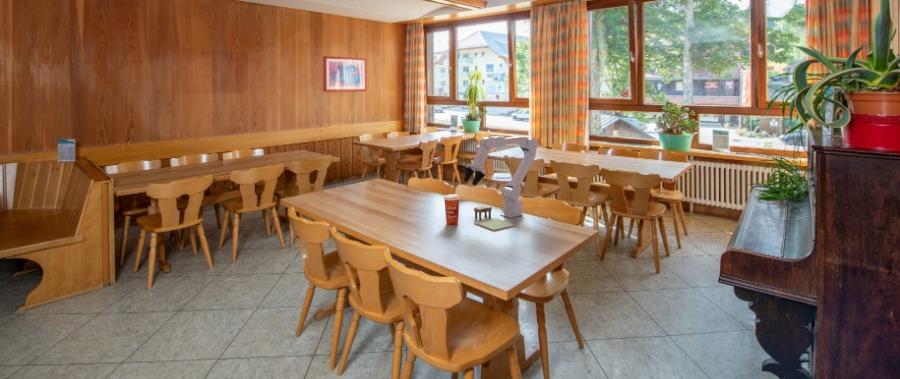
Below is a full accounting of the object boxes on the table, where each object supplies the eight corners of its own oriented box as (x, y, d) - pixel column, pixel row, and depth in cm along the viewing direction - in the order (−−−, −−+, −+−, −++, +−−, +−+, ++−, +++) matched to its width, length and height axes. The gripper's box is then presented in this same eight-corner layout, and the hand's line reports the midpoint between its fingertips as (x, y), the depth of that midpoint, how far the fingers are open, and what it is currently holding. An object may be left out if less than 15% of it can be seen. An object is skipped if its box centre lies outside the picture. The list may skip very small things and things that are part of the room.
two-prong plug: (486, 215, 262) (485, 205, 261) (491, 217, 258) (491, 207, 257) (474, 218, 258) (474, 207, 257) (479, 220, 254) (479, 209, 252)
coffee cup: (441, 225, 247) (440, 196, 244) (449, 221, 254) (448, 193, 251) (456, 227, 243) (455, 198, 240) (463, 222, 250) (462, 194, 247)
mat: (495, 219, 255) (495, 217, 255) (515, 226, 242) (515, 224, 242) (474, 223, 248) (474, 222, 248) (493, 231, 235) (493, 229, 234)
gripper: (466, 153, 251) (456, 177, 251) (483, 158, 239) (472, 183, 239) (476, 158, 255) (466, 182, 255) (492, 163, 243) (482, 188, 243)
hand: (469, 183), depth 247 cm, fingers open, 7 cm apart
